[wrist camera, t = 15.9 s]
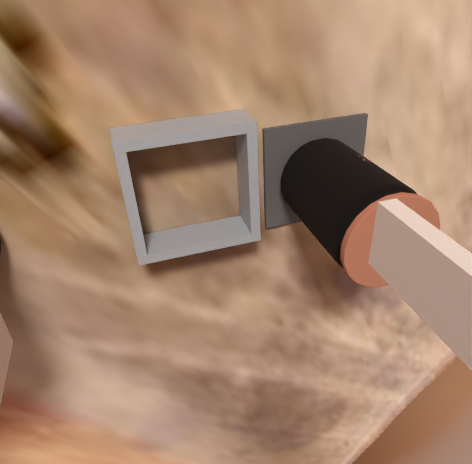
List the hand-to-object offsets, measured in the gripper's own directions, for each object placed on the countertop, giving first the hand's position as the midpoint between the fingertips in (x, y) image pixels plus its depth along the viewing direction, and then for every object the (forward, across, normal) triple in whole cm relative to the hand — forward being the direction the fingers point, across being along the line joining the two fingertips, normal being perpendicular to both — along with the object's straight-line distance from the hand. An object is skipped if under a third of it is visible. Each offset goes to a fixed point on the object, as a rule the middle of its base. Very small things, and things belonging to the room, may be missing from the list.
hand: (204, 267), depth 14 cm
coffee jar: (+36, +22, -15) cm, 45 cm away
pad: (+36, +22, -15) cm, 45 cm away
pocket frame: (+36, +5, -13) cm, 39 cm away
